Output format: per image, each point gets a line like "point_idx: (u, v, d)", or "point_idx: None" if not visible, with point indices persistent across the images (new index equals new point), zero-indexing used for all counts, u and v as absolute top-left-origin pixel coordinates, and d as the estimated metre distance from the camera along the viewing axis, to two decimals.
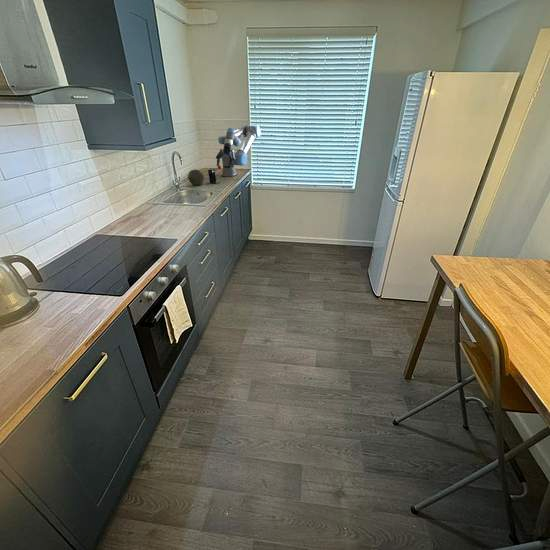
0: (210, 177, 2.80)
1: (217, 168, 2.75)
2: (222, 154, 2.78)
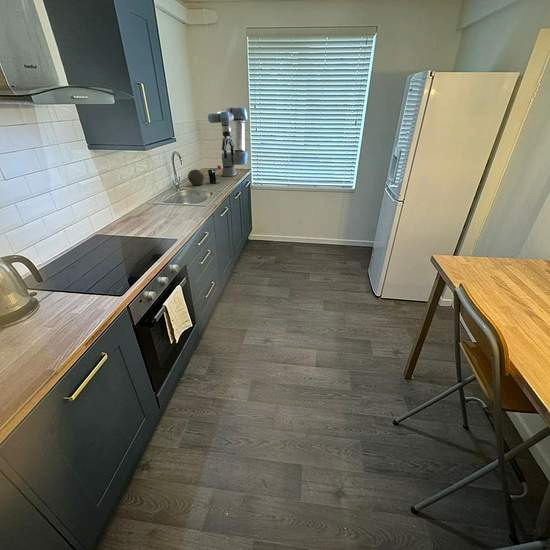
0: (210, 177, 2.80)
1: (217, 168, 2.75)
2: (226, 144, 2.60)
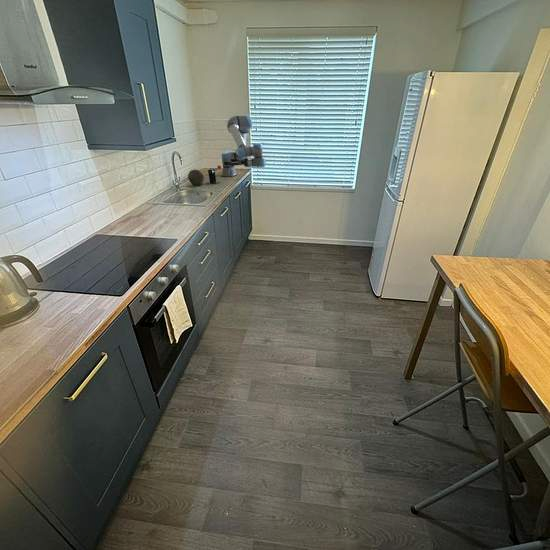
0: (210, 177, 2.80)
1: (217, 168, 2.75)
2: None
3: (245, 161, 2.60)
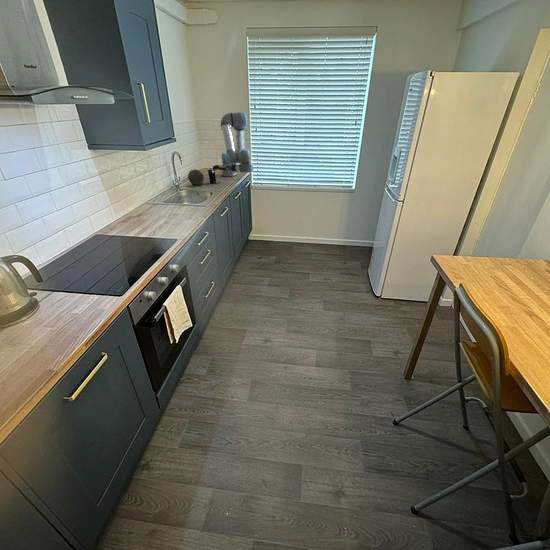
0: (210, 177, 2.80)
1: None
2: None
3: (233, 166, 2.66)
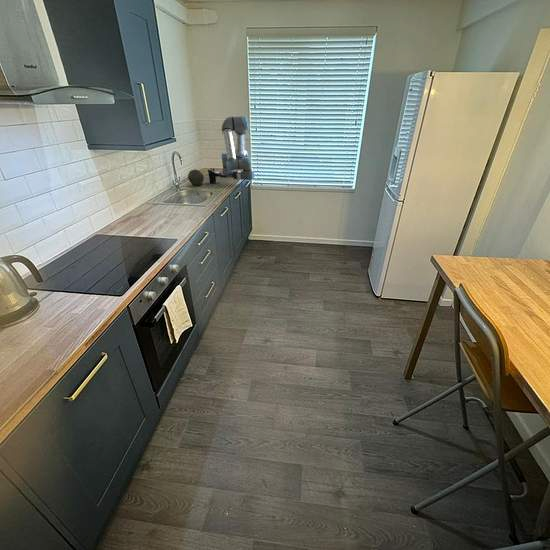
0: (210, 177, 2.80)
1: None
2: None
3: (234, 174, 2.69)
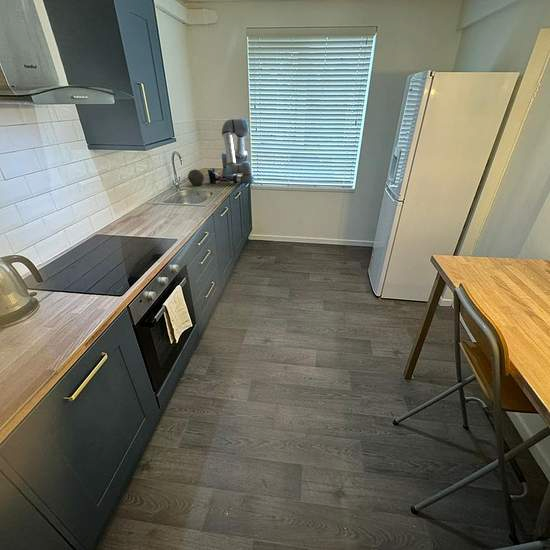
0: (210, 177, 2.80)
1: None
2: None
3: (234, 178, 2.71)
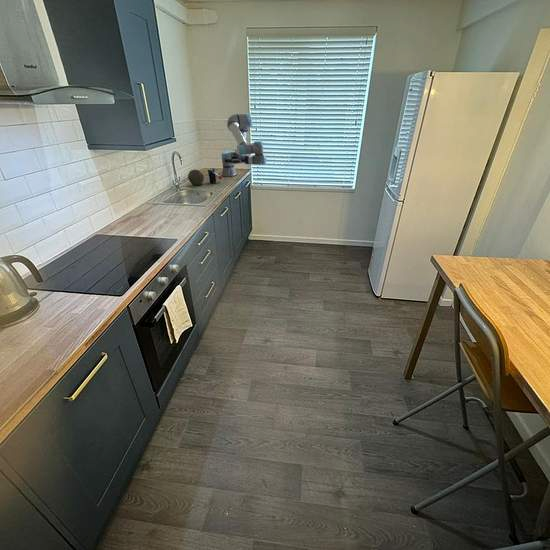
0: (210, 177, 2.80)
1: None
2: None
3: (246, 159, 2.61)
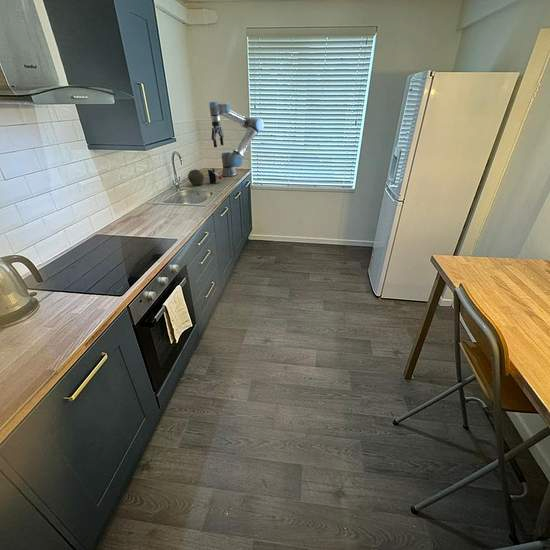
0: (210, 177, 2.80)
1: None
2: (218, 132, 2.76)
3: None
